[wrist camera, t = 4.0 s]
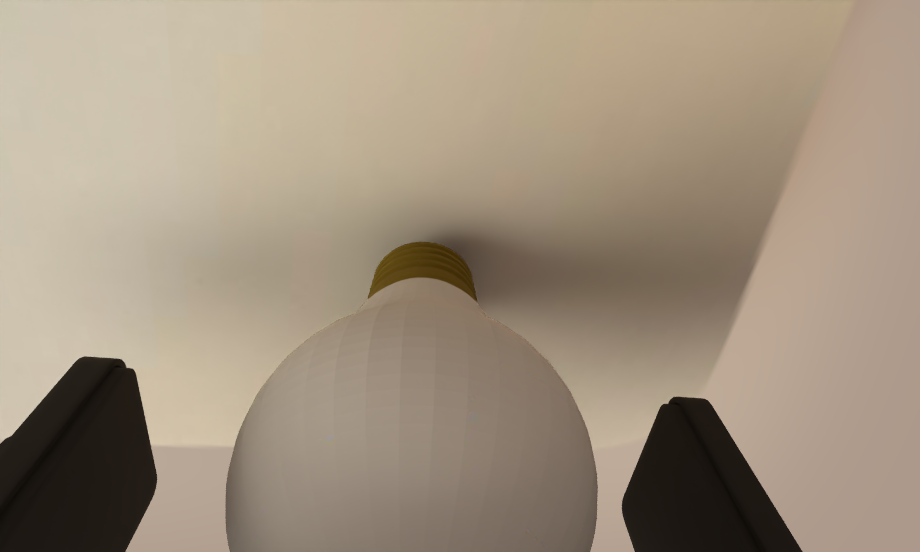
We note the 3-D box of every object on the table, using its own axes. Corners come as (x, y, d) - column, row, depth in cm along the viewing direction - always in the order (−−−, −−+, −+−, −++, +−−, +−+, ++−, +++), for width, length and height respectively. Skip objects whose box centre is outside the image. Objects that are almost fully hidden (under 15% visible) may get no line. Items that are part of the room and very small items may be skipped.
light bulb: (275, 212, 14) (34, 609, 6) (492, 135, 14) (593, 459, 5) (369, 377, 17) (302, 806, 9) (553, 321, 16) (684, 732, 8)
